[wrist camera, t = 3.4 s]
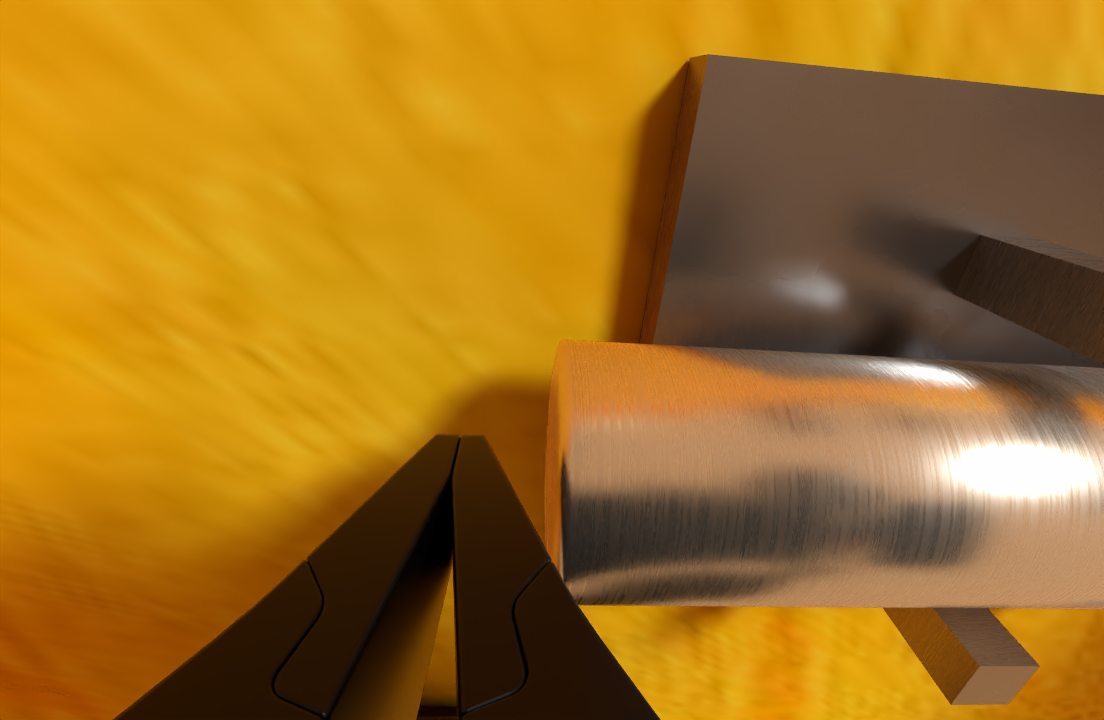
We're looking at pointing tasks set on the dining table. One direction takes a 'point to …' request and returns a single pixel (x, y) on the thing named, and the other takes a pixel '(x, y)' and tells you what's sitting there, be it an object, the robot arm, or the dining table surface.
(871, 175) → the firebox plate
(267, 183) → the dining table surface
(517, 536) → the robot arm
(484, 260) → the dining table surface
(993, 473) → the tube
